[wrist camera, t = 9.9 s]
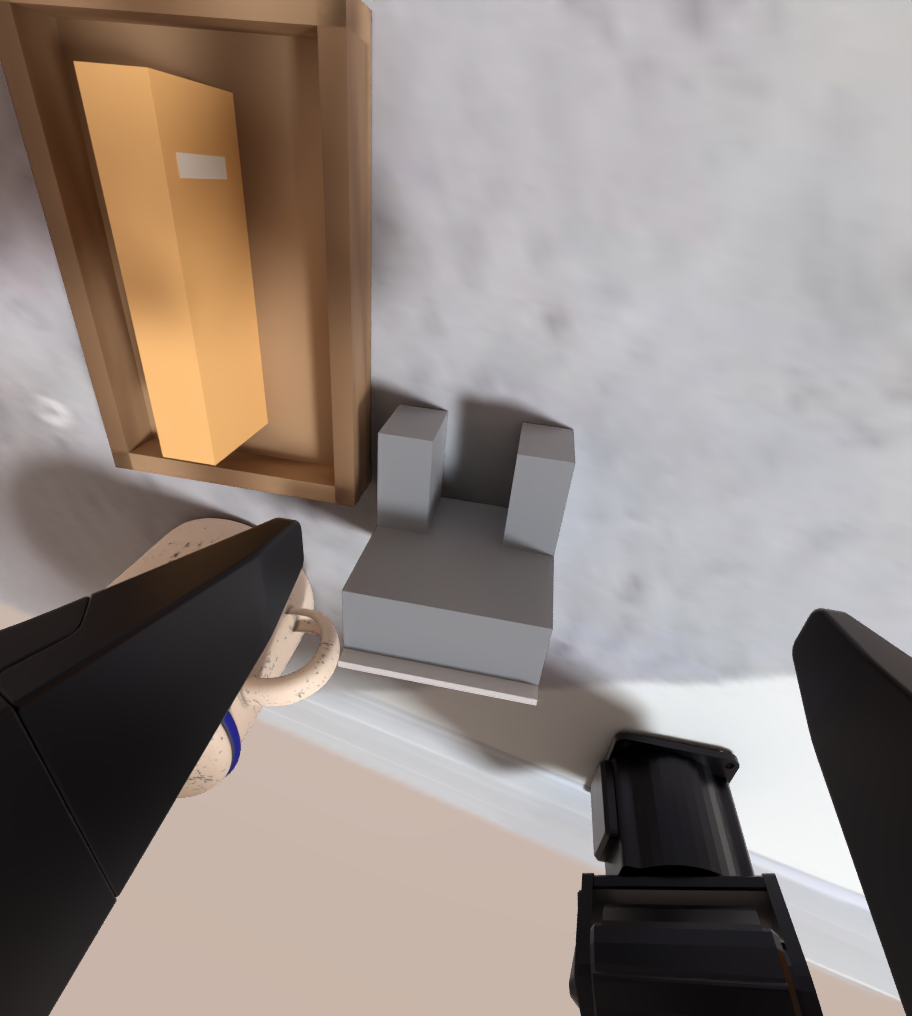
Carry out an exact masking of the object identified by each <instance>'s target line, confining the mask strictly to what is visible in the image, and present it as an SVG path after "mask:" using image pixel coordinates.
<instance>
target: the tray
mask: <svg viewBox="0 0 912 1016" xmlns="http://www.w3.org/2000/svg"><path fill="white" fill-rule="evenodd" d="M0 59H1V63H2V67H3V70H4V74H5V77H6V81H7V84H8V88H9V91H10V95H11V98H12V102H13V105H14V109H15V112H16V116H17V120H18V123H19V127H20V130H21V134H22V137H23V141H24V144H25V148H26V151H27V155H28V158H29V162H30V165H31V169H32V173H33V176H34V180H35V183H36V187H37V190H38V194H39V197H40V201H41V204H42V208H43V211H44V215H45V218H46V222H47V226H48V229H49V233H50V236H51V240H52V243H53V247H54V250H55V254H56V257H57V261H58V264H59V268H60V271H61V275H62V278H63V282H64V286H65V289H66V293H67V296H68V300H69V303H70V307H71V310H72V314H73V317H74V321H75V324H76V328H77V331H78V335H79V339H80V342H81V346H82V349H83V353H84V356H85V360H86V363H87V367H88V370H89V374H90V377H91V381H92V384H93V388H94V392H95V395H96V399H97V402H98V406H99V409H100V413H101V416H102V420H103V423H104V427H105V430H106V434H107V437H108V441H109V445H110V448H111V452H112V455H113V459H114V462H115V466H116V467H119V468H125V469H131V470H137V471H143V472H149V473H155V474H161V475H167V476H173V477H179V478H185V479H191V480H197V481H203V482H209V483H215V484H221V485H227V486H233V487H239V488H245V489H251V490H257V491H263V492H269V493H275V494H281V495H287V496H293V497H299V498H305V499H311V500H317V501H323V502H329V503H335V504H341V505H347V506H353V507H354V506H355V505H356V503H357V502H358V500H359V499H360V497H361V496H362V494H363V493H364V491H365V490H366V488H367V486H368V485H369V483H370V482H371V140H372V11H371V10H370V9H369V8H368V7H367V6H366V5H365V4H364V3H363V2H362V1H361V0H0ZM73 61H80V62H91V63H103V64H114V65H125V66H137V67H148V68H151V69H154V70H158V71H161V72H165V73H168V74H171V75H175V76H178V77H181V78H185V79H188V80H191V81H195V82H198V83H201V84H205V85H208V86H211V87H215V88H218V89H221V90H225V91H228V92H232V93H233V100H234V109H235V118H236V128H237V137H238V147H239V156H240V165H241V175H242V184H243V194H244V203H245V212H246V222H247V231H248V241H249V250H250V259H251V269H252V278H253V288H254V297H255V306H256V316H257V325H258V335H259V344H260V353H261V363H262V372H263V382H264V391H265V400H266V410H267V419H268V424H267V425H265V426H264V427H263V428H262V429H260V430H259V431H258V432H257V433H255V434H254V435H253V436H252V437H250V438H249V439H248V440H247V441H245V442H244V443H243V444H242V445H240V446H239V447H238V448H237V449H235V450H234V451H233V452H231V453H230V454H229V455H228V456H226V457H225V458H224V459H223V460H221V461H220V462H219V463H218V464H216V465H210V464H204V463H198V462H192V461H186V460H180V459H173V458H167V457H163V454H162V450H161V446H160V441H159V437H158V432H157V428H156V424H155V419H154V415H153V410H152V406H151V402H150V397H149V393H148V388H147V384H146V379H145V375H144V371H143V366H142V362H141V357H140V353H139V349H138V344H137V340H136V335H135V331H134V326H133V322H132V318H131V313H130V309H129V304H128V300H127V296H126V291H125V287H124V282H123V278H122V274H121V269H120V265H119V260H118V256H117V251H116V247H115V243H114V238H113V234H112V229H111V225H110V221H109V216H108V212H107V207H106V203H105V199H104V194H103V190H102V185H101V181H100V176H99V172H98V168H97V163H96V159H95V154H94V150H93V146H92V141H91V137H90V132H89V128H88V123H87V119H86V115H85V110H84V106H83V101H82V97H81V93H80V88H79V84H78V79H77V75H76V71H75V66H74V62H73Z"/></svg>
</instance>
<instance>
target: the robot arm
mask: <svg viewBox="0 0 912 1016" xmlns="http://www.w3.org/2000/svg"><path fill="white" fill-rule="evenodd" d="M303 561H304V554H303V542H302V531H301V526H300V523H299V522H298V521H296V520H290V519H285V518H275V519H272V520H270V521H267V522H265V523H263V524H260V525H258V526H255V527H253V528H250V529H248V530H246V531H243V532H241V533H238V534H236V535H234V536H231V537H229V538H226V539H224V540H221V541H219V542H217V543H214V544H212V545H209V546H207V547H205V548H202V549H200V550H197V551H195V552H192V553H190V554H188V555H185V556H183V557H180V558H178V559H176V560H173V561H171V562H168V563H166V564H163V565H161V566H159V567H156V568H154V569H151V570H149V571H147V572H144V573H142V574H139V575H137V576H134V577H132V578H130V579H127V580H125V581H122V582H120V583H118V584H115V585H113V586H110V587H108V588H106V589H103V590H101V591H98V592H96V593H93V594H92V595H91V596H90V598H89V597H83V598H81V599H79V600H76V601H74V602H72V603H69V604H67V605H64V606H62V607H60V608H57V609H54V610H52V611H49V612H47V613H44V614H42V615H39V616H37V617H34V618H32V619H29V620H27V621H24V622H22V623H19V624H16V625H13V626H10V627H8V628H5V629H2V630H0V1016H49V1014H50V1012H51V1011H52V1009H53V1007H54V1006H55V1004H56V1002H57V1001H58V999H59V997H60V996H61V994H62V992H63V991H64V989H65V987H66V985H67V984H68V982H69V980H70V979H71V977H72V975H73V973H74V972H75V970H76V968H77V967H78V965H79V963H80V962H81V960H82V958H83V957H84V955H85V953H86V952H87V950H88V948H89V946H90V945H91V943H92V941H93V940H94V938H95V936H96V935H97V933H98V931H99V930H100V928H101V926H102V924H103V923H104V921H105V919H106V918H107V916H108V914H109V912H110V911H111V909H112V907H113V906H114V904H115V902H116V897H117V896H119V895H120V893H121V892H122V890H123V888H124V886H125V884H126V883H127V881H128V880H129V878H130V876H131V875H132V873H133V871H134V869H135V868H136V866H137V864H138V863H139V861H140V859H141V858H142V856H143V854H144V853H145V851H146V849H147V847H148V846H149V844H150V842H151V840H152V839H153V837H154V836H155V834H156V832H157V831H158V829H159V827H160V825H161V824H162V822H163V820H164V819H165V817H166V815H167V813H168V812H169V810H170V808H171V807H172V805H173V803H174V802H175V800H176V798H177V797H178V795H179V793H180V792H181V790H182V788H183V786H184V785H185V783H186V781H187V780H188V778H189V776H190V775H191V773H192V771H193V770H194V768H195V766H196V764H197V763H198V761H199V759H200V758H201V756H202V754H203V753H204V751H205V749H206V747H207V746H208V744H209V742H210V741H211V739H212V737H213V736H214V734H215V732H216V731H217V729H218V727H219V725H220V724H221V722H222V720H223V719H224V717H225V715H226V714H227V712H228V710H229V709H230V707H231V705H232V703H233V702H234V700H235V698H236V697H237V695H238V693H239V692H240V690H241V688H242V686H243V685H244V683H245V681H246V680H247V678H248V676H249V675H250V673H251V671H252V670H253V668H254V666H255V664H256V663H257V661H258V659H259V658H260V656H261V654H262V653H263V651H264V649H265V647H266V646H267V644H268V642H269V640H270V638H271V637H272V635H273V632H274V630H275V628H276V626H277V624H278V622H279V619H280V617H281V615H282V613H283V610H284V608H285V606H286V604H287V601H288V599H289V597H290V594H291V592H292V590H293V588H294V585H295V583H296V581H297V579H298V576H299V574H300V572H301V569H302V566H303ZM792 656H793V662H794V666H795V670H796V675H797V679H798V684H799V688H800V693H801V697H802V702H803V706H804V711H805V715H806V720H807V724H808V728H809V732H810V736H811V740H812V743H813V746H814V749H815V753H816V756H817V759H818V762H819V764H820V767H821V770H822V773H823V776H824V779H825V782H826V785H827V788H828V791H829V793H830V796H831V799H832V802H833V805H834V808H835V811H836V814H837V817H838V819H839V822H840V825H841V828H842V831H843V834H844V837H845V840H846V843H847V846H848V848H849V851H850V854H851V857H852V860H853V863H854V866H855V869H856V872H857V874H858V877H859V880H860V883H861V886H862V889H863V892H864V895H865V898H866V901H867V903H868V906H869V909H870V912H871V915H872V918H873V921H874V924H875V927H876V929H877V932H878V935H879V938H880V941H881V944H882V947H883V950H884V953H885V956H886V958H887V961H888V964H889V967H890V970H891V973H892V976H893V979H894V982H895V984H896V987H897V990H898V993H899V996H900V999H901V1002H902V1005H903V1008H904V1010H905V1013H906V1016H912V657H910V656H909V655H907V654H906V653H904V652H903V651H901V650H900V649H898V648H897V647H895V646H894V645H893V644H891V643H890V642H888V641H887V640H885V639H884V638H882V637H881V636H879V635H878V634H876V633H875V632H873V631H872V630H870V629H869V628H868V627H866V626H865V625H863V624H862V623H860V622H859V621H857V620H856V619H854V618H853V617H851V616H850V615H848V614H847V613H844V612H841V611H835V610H829V609H823V608H819V609H816V610H814V611H813V612H812V613H811V614H810V616H809V618H808V619H807V621H806V623H805V624H804V626H803V628H802V630H801V631H800V633H799V635H798V637H797V638H796V640H795V642H794V645H793V650H792ZM738 769H739V762H738V759H737V757H736V756H735V755H733V754H730V753H725V752H720V751H715V750H710V749H705V748H700V747H695V746H690V745H685V744H680V743H675V742H670V741H665V740H660V739H655V738H650V737H645V736H640V735H635V734H630V733H623V732H622V733H618V734H616V735H615V737H614V739H613V742H612V744H611V747H610V749H609V752H608V754H607V757H606V759H603V760H602V761H601V762H600V763H599V766H598V768H597V771H596V773H595V776H594V779H593V781H592V784H591V805H592V824H593V843H594V856H595V857H596V859H597V860H598V861H601V862H605V869H606V875H594V873H583V874H582V889H581V890H579V892H578V915H577V932H576V947H575V952H574V957H573V963H572V969H571V974H570V980H569V989H570V995H571V998H572V999H573V1000H574V1002H575V1003H576V1004H577V1006H578V1007H579V1008H580V1013H581V1016H823V1014H822V1011H821V1007H820V1004H819V1000H818V997H817V994H816V990H815V988H814V984H813V981H812V978H811V975H810V972H809V969H808V966H807V963H806V960H805V957H804V955H803V952H802V949H801V946H800V943H799V940H798V938H797V935H796V932H795V929H794V926H793V923H792V921H791V918H790V915H789V912H788V909H787V907H786V904H785V901H784V898H783V895H782V892H781V890H780V887H779V884H778V881H777V878H776V875H775V873H762V876H755V875H754V871H753V868H752V864H751V861H750V857H749V854H748V850H747V847H746V843H745V840H744V836H743V833H742V829H741V826H740V822H739V819H738V815H737V811H736V808H735V804H734V801H733V797H732V794H731V790H730V787H729V783H730V781H731V780H732V778H733V777H734V775H735V773H736V772H737V770H738Z"/></svg>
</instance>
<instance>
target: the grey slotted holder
mask: <svg viewBox="0 0 912 1016" xmlns="http://www.w3.org/2000/svg"><path fill="white" fill-rule="evenodd" d="M447 418H448V411H442V410H436V409H429V408H422V407H415V406H408V405H401V404H399V406H398V407H397V408H396V410H395V411H394V412H393V414H392V415H391V416H390V418H389V419H388V420H387V422H386V423H385V424H384V426H383V427H382V428H381V430H380V431H379V432H378V480H377V527H376V529H375V531H374V533H373V534H372V536H371V538H370V540H369V542H368V544H367V545H366V547H365V549H364V551H363V553H362V555H361V556H360V558H359V560H358V562H357V564H356V566H355V567H354V569H353V571H352V573H351V575H350V577H349V578H348V580H347V582H346V584H345V586H344V588H343V589H342V610H343V639H344V649H343V651H342V653H341V655H340V657H339V659H338V667H342V668H347V669H353V670H358V671H363V672H368V673H373V674H378V675H383V676H388V677H393V678H398V679H403V680H408V681H413V682H418V683H424V684H429V685H434V686H439V687H444V688H449V689H454V690H459V691H464V692H469V693H474V694H479V695H484V696H489V697H494V698H500V699H505V700H510V701H515V702H520V703H525V704H530V705H535V706H536V705H537V701H538V685H539V681H540V677H541V673H542V669H543V665H544V661H545V657H546V653H547V649H548V646H549V642H550V638H551V634H552V630H553V575H554V553H555V549H556V544H557V540H558V536H559V531H560V527H561V523H562V518H563V514H564V510H565V505H566V501H567V497H568V492H569V488H570V484H571V479H572V475H573V471H574V466H575V450H574V432H573V429H566V428H559V427H552V426H545V425H538V424H532V423H525V422H523V423H522V429H521V435H520V441H519V447H518V453H517V459H516V465H515V471H514V477H513V483H512V489H511V495H510V502H509V508H506V507H500V506H494V505H488V504H481V503H475V502H469V501H463V500H457V499H451V498H444V497H441V490H442V478H443V466H444V454H445V442H446V430H447Z"/></svg>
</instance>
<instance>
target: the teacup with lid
mask: <svg viewBox="0 0 912 1016" xmlns="http://www.w3.org/2000/svg"><path fill="white" fill-rule="evenodd" d="M250 528H252V527H250V526H248V525H245V524H242V523H239V522H235V521H231V520H226V519H218V518H203V519H196V520H192V521H188V522H185V523H183V524H181V525H179V526H177V527H176V528H174V529H172V530H171V531H170V532H169V533H168V534H166V535H165V536H164V537H163V538H162V539H161V540H160V541H158V542H157V543H156V544H155V545H154V546H153V547H152V548H150V549H149V550H148V551H147V552H146V553H145V554H144V555H142V556H141V557H140V558H139V559H138V560H137V561H136V562H134V563H133V564H132V565H131V566H130V567H129V568H128V569H126V570H125V571H124V572H123V573H122V574H121V575H120V576H118V577H117V578H116V579H115V580H114V581H113V582H112V583H110V584H109V585H108V586H107V587H106V588H108V587H110V586H113V585H115V584H118V583H120V582H122V581H125V580H127V579H130V578H132V577H134V576H137V575H139V574H142V573H144V572H147V571H149V570H151V569H154V568H156V567H159V566H161V565H163V564H166V563H168V562H171V561H173V560H176V559H178V558H180V557H183V556H185V555H188V554H190V553H192V552H195V551H197V550H200V549H202V548H205V547H207V546H209V545H212V544H214V543H217V542H219V541H221V540H224V539H226V538H229V537H231V536H234V535H236V534H238V533H241V532H243V531H246V530H248V529H250ZM106 588H105V589H106ZM305 633H309V634H313V635H316V636H318V637H320V638H321V641H320V645H319V648H318V650H317V652H316V654H315V655H314V657H313V658H312V660H311V661H310V662H309V663H308V664H307V665H305V666H304V667H303V668H301V669H299V670H297V671H295V672H293V673H291V674H288V675H285V676H282V677H280V676H281V674H282V672H283V670H284V669H285V667H286V665H287V663H288V662H289V660H290V658H291V656H292V655H293V653H294V651H295V649H296V648H297V646H298V644H299V643H300V641H301V639H302V637H303V636H304V634H305ZM339 654H340V643H339V638H338V635H337V632H336V629H335V626H334V625H333V623H332V621H331V620H330V619H329V618H328V617H327V616H326V615H324V614H322V613H321V612H318V611H315V610H314V598H313V592H312V589H311V586H310V583H309V581H308V578H307V577H306V575H305V573H304V571H303V569H301V572H300V574H299V576H298V579H297V581H296V583H295V585H294V588H293V590H292V592H291V594H290V597H289V599H288V601H287V604H286V606H285V608H284V610H283V613H282V615H281V617H280V619H279V622H278V624H277V626H276V628H275V630H274V632H273V635H272V637H271V638H270V640H269V642H268V644H267V646H266V647H265V649H264V651H263V653H262V654H261V656H260V658H259V659H258V661H257V663H256V664H255V666H254V668H253V670H252V671H251V673H250V675H249V676H248V678H247V680H246V681H245V683H244V685H243V686H242V688H241V690H240V692H239V693H238V695H237V697H236V698H235V700H234V702H233V703H232V705H231V707H230V709H229V710H228V712H227V714H226V715H225V717H224V719H223V720H222V722H221V724H220V725H219V727H218V729H217V731H216V732H215V734H214V736H213V737H212V739H211V741H210V742H209V744H208V746H207V747H206V749H205V751H204V753H203V754H202V756H201V758H200V759H199V761H198V763H197V764H196V766H195V768H194V770H193V771H192V773H191V775H190V776H189V778H188V780H187V781H186V783H185V785H184V786H183V788H182V790H181V792H180V793H179V795H178V797H177V798H185V797H191V796H195V795H198V794H201V793H204V792H206V791H207V790H209V789H211V788H213V787H214V786H216V785H217V784H218V783H219V782H221V781H222V780H223V779H224V778H225V777H226V776H227V775H228V774H229V773H230V772H231V771H232V770H233V769H234V767H235V765H236V764H237V762H238V759H239V756H240V750H241V743H242V742H243V740H244V738H245V736H246V735H247V733H248V731H249V729H250V728H251V726H252V724H253V722H254V721H255V719H256V717H257V715H258V714H259V712H260V710H261V709H262V707H263V706H282V705H288V704H291V703H295V702H297V701H300V700H302V699H304V698H306V697H308V696H310V695H312V694H313V693H315V692H316V691H318V690H319V689H320V688H321V687H322V686H323V685H324V684H325V683H326V682H327V681H328V680H329V678H330V677H331V675H332V674H333V672H334V670H335V668H336V666H337V663H338V659H339Z"/></svg>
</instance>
